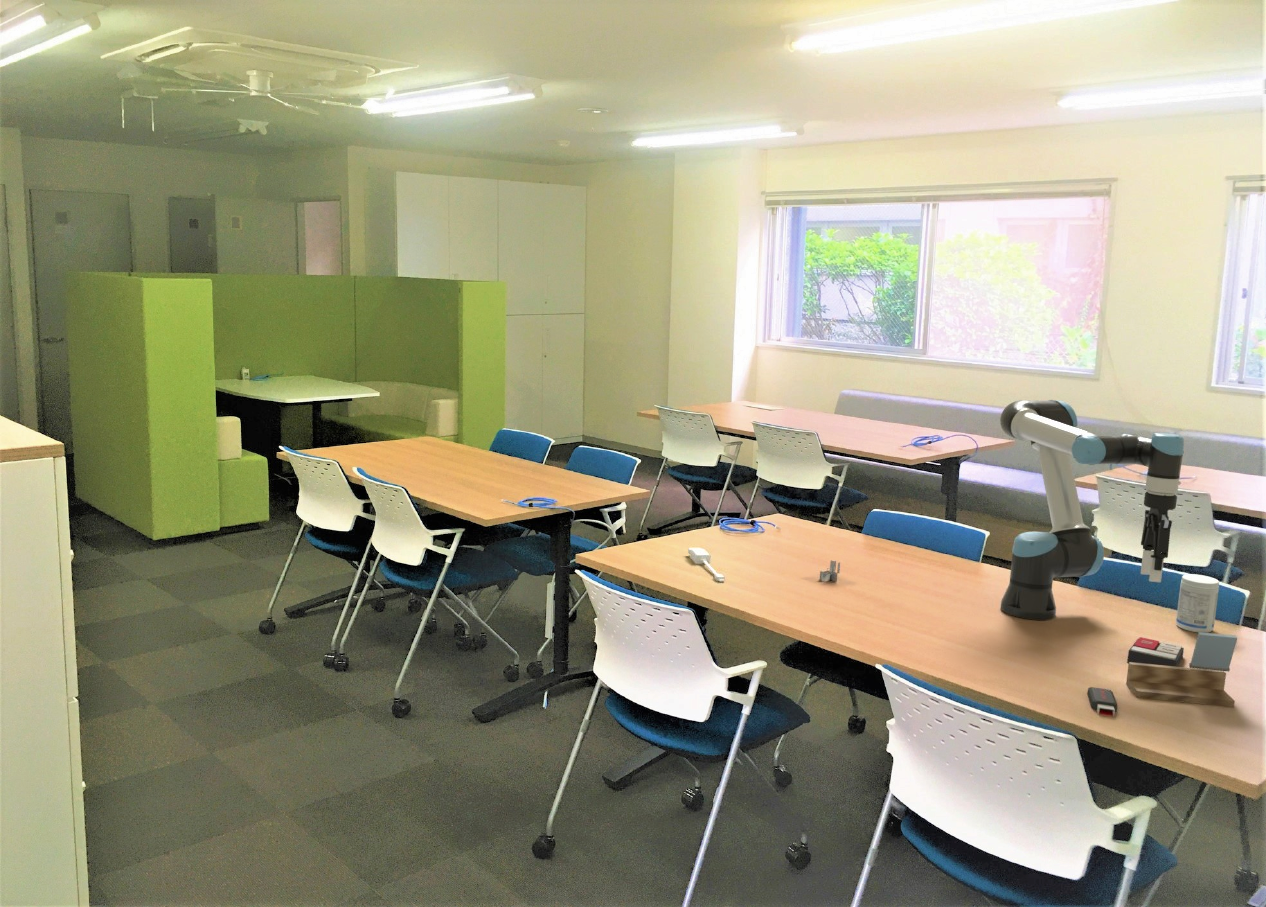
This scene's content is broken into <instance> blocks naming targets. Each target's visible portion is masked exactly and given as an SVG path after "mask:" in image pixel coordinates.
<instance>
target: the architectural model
mask: <svg viewBox="0 0 1266 907" xmlns="http://www.w3.org/2000/svg"><path fill="white" fill-rule="evenodd" d="M829 564H830V565H829V568H826V570H823V571H822V570H821V571H819V581H821V582H825V583H826V582H830V581H833V582H836V583H837V582H838V574H840V571H841V570H840V569H841V562H840V561H839V562H837V561H836V560H832V559H831V560H830V563H829ZM836 567H837V572H836Z"/></svg>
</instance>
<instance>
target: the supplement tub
mask: <svg viewBox="0 0 1266 907" xmlns="http://www.w3.org/2000/svg"><path fill="white" fill-rule="evenodd" d="M1219 591H1220V581H1219V580H1218V579H1216V578H1214V577H1212V576H1207V575H1202V574H1195V573H1193V574H1189V573H1188V574H1183V575H1181V580H1180V586H1179V595H1178V602H1177V611H1176V620H1175V624H1176V626H1177V627H1178V628H1181V629H1183V630H1184V631H1185V630H1186V631H1188V632H1193V633H1199V632H1202V633H1210V632H1212V631H1213V630H1214V628H1215V621H1216V614H1217V604H1218V598H1219Z"/></svg>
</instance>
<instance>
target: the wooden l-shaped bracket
mask: <svg viewBox="0 0 1266 907" xmlns="http://www.w3.org/2000/svg"><path fill="white" fill-rule="evenodd" d="M1226 678H1227V673H1226V671H1217V670H1207V669H1197V668H1190V667H1184V666H1178V667H1175V666H1164V665H1154V664H1144V663H1133V662H1129V664H1128V667H1127V674H1126V680H1125V682H1126V683H1125V685H1126V686H1127V688H1128V689H1129V690H1130V691H1131V692H1132V694H1133V696H1135V697H1136V698H1141V699H1151V700H1161V701H1172V702H1180V703H1181V702H1182V703H1190V704H1191V703H1192V704H1199V705H1209V706H1219V707H1228V708H1229V707H1230V708H1235V702H1236V701H1235V699H1233V697H1232V696H1231V695H1230V694H1228V693H1227V692H1226V691H1225V687H1226V686H1225V685H1226Z"/></svg>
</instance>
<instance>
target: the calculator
mask: <svg viewBox="0 0 1266 907" xmlns="http://www.w3.org/2000/svg"><path fill="white" fill-rule="evenodd" d="M1184 650H1185V649H1184V647H1182V645H1180V644H1175V643H1170V642H1166V641H1161V642H1160V641H1159V640H1155V639H1150V638H1148V637H1147V638H1146V637H1138V638H1137V639H1136V640H1135V641H1134V643H1133V644H1132V646H1131V647H1130V648H1129V649H1128V653H1127V659H1126V660H1127V661H1126V663H1127V664H1128V665H1129V662H1133V663H1144V664H1154V665H1164V666H1175V667H1180V666H1179V665H1180V664H1181V662H1182V661H1183V656H1184Z"/></svg>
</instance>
